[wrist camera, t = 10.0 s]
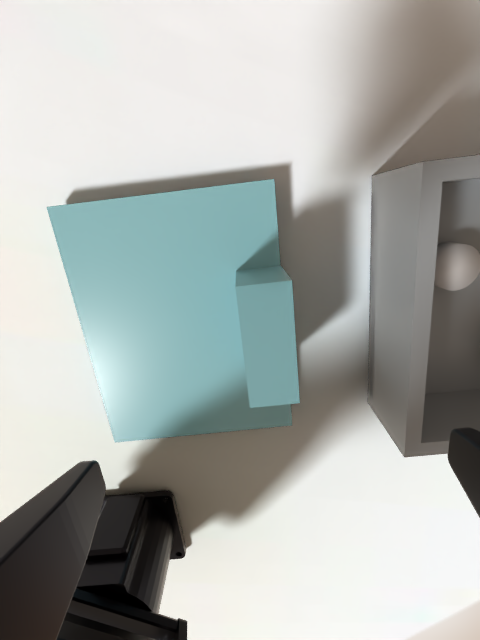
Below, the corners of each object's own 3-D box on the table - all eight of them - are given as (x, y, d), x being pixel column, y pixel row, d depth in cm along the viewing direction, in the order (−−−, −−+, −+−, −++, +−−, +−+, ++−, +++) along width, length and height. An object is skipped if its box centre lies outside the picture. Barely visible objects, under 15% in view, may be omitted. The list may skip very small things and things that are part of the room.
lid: (288, 410, 22) (304, 473, 17) (123, 426, 22) (87, 493, 17) (271, 181, 17) (285, 168, 12) (63, 207, 18) (-12, 205, 12)
